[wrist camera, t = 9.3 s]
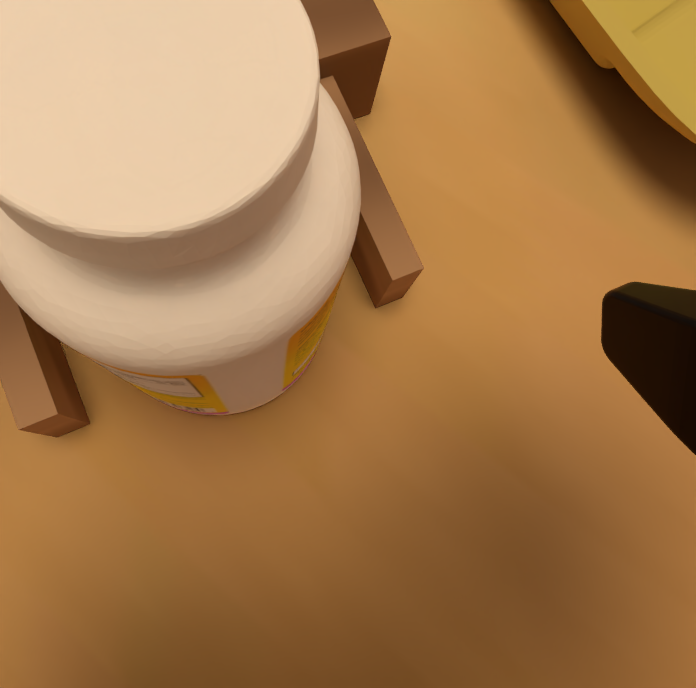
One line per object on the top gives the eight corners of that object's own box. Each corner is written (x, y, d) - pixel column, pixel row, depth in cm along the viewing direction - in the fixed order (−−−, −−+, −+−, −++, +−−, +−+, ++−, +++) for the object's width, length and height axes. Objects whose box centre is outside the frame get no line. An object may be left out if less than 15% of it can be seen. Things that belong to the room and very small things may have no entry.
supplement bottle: (286, 192, 21) (309, -206, 9) (351, 378, 20) (482, 227, 8) (84, 247, 20) (-219, -121, 8) (143, 448, 19) (-94, 400, 7)
